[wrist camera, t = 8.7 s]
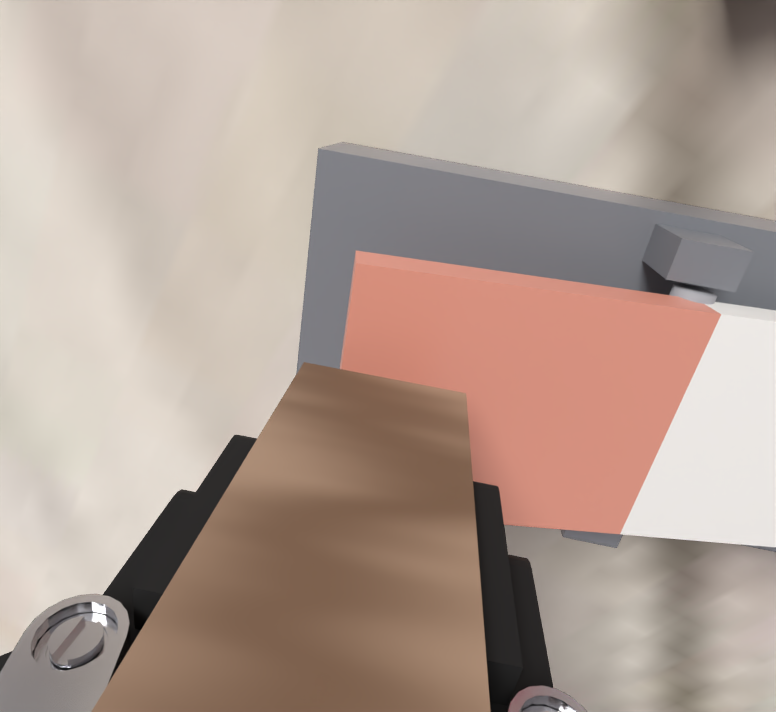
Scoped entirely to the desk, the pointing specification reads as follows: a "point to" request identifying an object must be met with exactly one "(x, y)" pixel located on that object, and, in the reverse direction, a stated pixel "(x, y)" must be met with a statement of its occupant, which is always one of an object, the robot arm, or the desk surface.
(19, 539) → the desk surface
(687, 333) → the breaker rocker
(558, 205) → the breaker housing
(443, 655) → the peg
